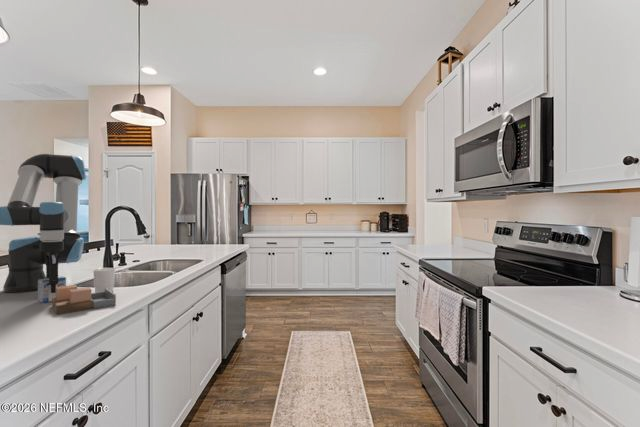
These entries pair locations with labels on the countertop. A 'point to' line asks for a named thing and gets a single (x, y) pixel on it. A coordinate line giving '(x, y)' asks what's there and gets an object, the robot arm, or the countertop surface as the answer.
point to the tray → (103, 299)
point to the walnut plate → (70, 306)
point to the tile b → (79, 295)
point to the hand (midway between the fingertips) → (52, 299)
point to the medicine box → (44, 288)
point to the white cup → (104, 279)
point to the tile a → (64, 291)
